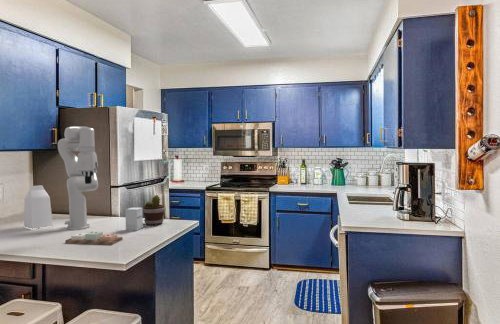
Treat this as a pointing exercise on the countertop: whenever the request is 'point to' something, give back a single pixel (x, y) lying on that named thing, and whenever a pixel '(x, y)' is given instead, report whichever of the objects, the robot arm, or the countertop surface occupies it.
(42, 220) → the milk
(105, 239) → the tile three
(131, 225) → the supplement box
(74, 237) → the tile one
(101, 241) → the board
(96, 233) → the tile two
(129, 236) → the countertop surface
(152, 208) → the flowerpot
